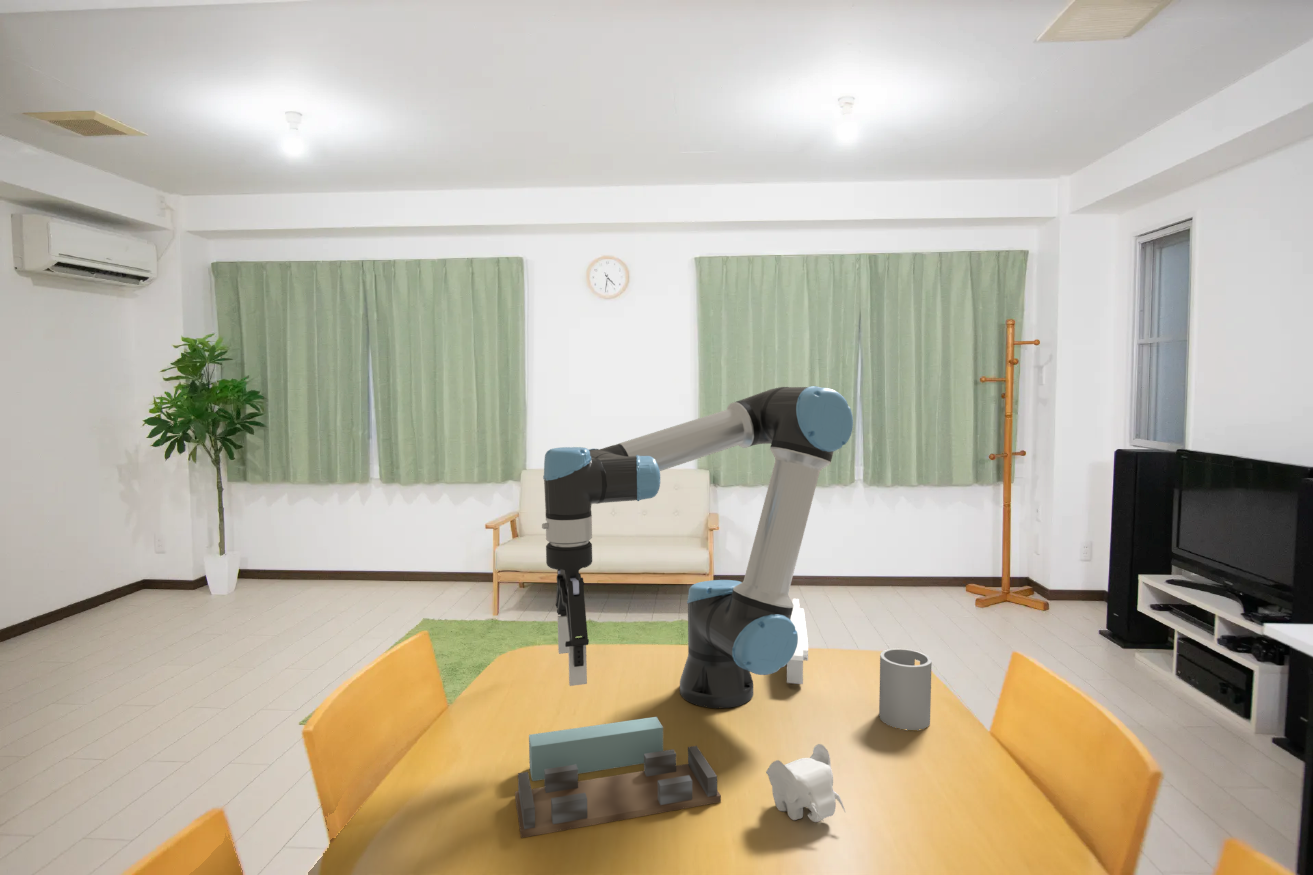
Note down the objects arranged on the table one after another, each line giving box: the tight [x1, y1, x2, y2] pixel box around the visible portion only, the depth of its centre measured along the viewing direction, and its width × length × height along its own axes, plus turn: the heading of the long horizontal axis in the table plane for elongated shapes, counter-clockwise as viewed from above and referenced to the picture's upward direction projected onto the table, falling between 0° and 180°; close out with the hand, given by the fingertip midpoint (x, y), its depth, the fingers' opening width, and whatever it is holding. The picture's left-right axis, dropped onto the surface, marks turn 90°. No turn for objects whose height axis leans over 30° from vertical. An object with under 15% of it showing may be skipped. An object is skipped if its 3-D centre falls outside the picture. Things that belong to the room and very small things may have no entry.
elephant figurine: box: [765, 743, 846, 823], centre depth 104 cm, size 10×12×9 cm
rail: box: [528, 716, 664, 782], centre depth 118 cm, size 22×4×6 cm, turn 106°
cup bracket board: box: [514, 745, 722, 839], centre depth 107 cm, size 30×10×4 cm, turn 106°
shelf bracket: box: [786, 598, 809, 685], centre depth 158 cm, size 6×25×13 cm, turn 169°
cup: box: [878, 647, 932, 731], centre depth 133 cm, size 9×9×12 cm
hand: (571, 667), depth 117 cm, fingers open, 13 cm apart
